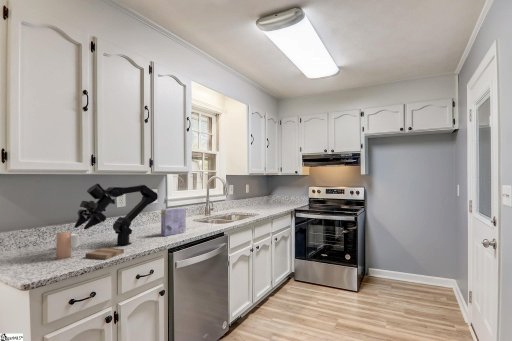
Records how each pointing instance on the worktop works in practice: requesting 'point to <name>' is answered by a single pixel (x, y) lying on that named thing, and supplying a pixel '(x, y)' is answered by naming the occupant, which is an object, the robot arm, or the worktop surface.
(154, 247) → the worktop surface
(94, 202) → the robot arm
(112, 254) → the walnut stand
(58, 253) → the pink rounded glossy part
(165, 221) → the cake pan box
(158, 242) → the worktop surface
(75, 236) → the shot glass
